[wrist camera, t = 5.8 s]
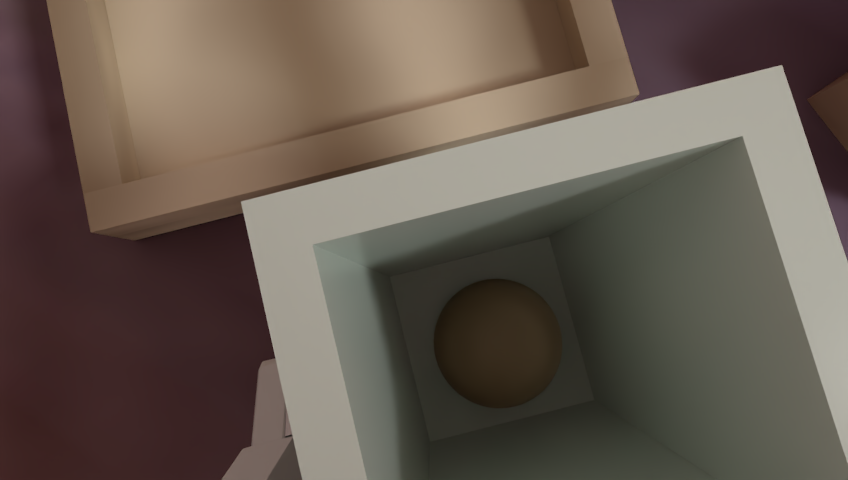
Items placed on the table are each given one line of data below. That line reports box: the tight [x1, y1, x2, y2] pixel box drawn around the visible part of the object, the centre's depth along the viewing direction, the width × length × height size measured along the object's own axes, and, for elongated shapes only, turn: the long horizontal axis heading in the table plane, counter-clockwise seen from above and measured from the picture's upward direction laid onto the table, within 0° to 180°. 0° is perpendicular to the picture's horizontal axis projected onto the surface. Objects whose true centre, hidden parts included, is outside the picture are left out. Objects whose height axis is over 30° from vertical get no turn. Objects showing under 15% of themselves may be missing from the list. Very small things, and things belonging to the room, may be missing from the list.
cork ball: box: [434, 279, 562, 408], centre depth 13 cm, size 3×3×3 cm
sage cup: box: [241, 65, 848, 480], centre depth 10 cm, size 6×6×10 cm
